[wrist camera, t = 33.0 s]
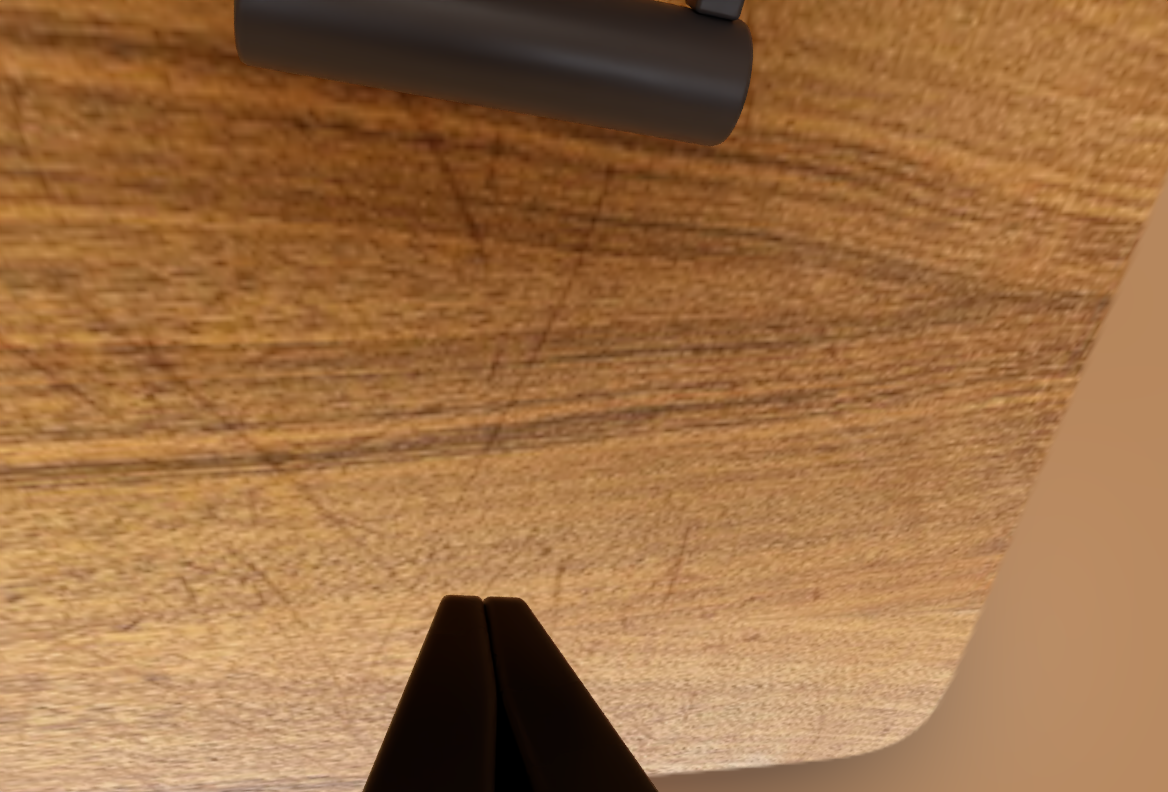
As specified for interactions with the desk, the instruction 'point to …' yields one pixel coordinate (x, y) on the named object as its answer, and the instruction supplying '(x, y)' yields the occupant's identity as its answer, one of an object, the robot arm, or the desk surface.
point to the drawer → (524, 56)
